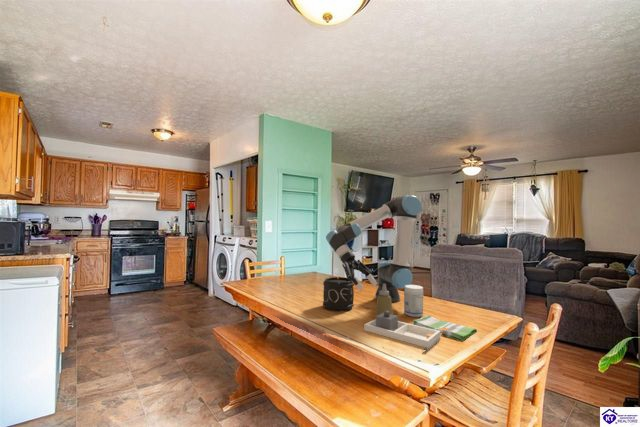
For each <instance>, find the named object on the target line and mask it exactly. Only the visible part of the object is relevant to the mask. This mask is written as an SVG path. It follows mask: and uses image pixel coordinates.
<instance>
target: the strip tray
mask: <svg viewBox="0 0 640 427" xmlns="http://www.w3.org/2000/svg"><path fill="white" fill-rule="evenodd" d="M363 330H364V331H366V332H370V333H372V334H377V335H380V336H384V337H388V338H390V339H394V340H398V341H400V342H404V343H409V344H412V345H415V346H418V347H419V346H420V347H422V348H423V350H424V351H430V349H432V348H433V347H434V346H435V345H436V344H437V343H439V342H440V341H441V333H440V331H438V330H433V329H429V328H425V327H421V326H417V325H413V323H407V322H404V321H399V320H398V329H397V330H395V331H391V330H387V329H383V328H380V327H376V318H375V319H372V320H371V321H368V322H366V323H364V327H363Z"/></svg>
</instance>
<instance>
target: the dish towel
mask: <svg viewBox="0 0 640 427" xmlns="http://www.w3.org/2000/svg"><path fill="white" fill-rule="evenodd" d="M412 321H413V323H412V325H417V326H421V327H425V328H429V329H433V330H438V331H440V336H444V337H446V338H449V339H450V338H451V339H454V340H458V341H460V342H462V341H464V340H466V339H468V338H469V337H471V336H472V335H473V334H475V333H477V331H478V330H477V328H475V327H473V328H472V327H469V326H465V325H461V324H458V323H453V322H451V321H447V320H442V319H438V318H436V317H433V316H432V315H425V316H423V317H421V318H418V319H413V320H412ZM443 328H444V329H443ZM475 331H476V332H475Z"/></svg>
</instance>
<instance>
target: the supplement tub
mask: <svg viewBox="0 0 640 427" xmlns="http://www.w3.org/2000/svg"><path fill="white" fill-rule="evenodd" d="M403 289H404V291H403V292H404V295H403V298H404V299H403V307H404V308H403V313H404V315H405V316H408V317H412V318H419V317H422V316H423V315H424V287H423V286H421V285H419V284H418V285H416V284H410V285H406V286H405V288H403Z"/></svg>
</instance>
